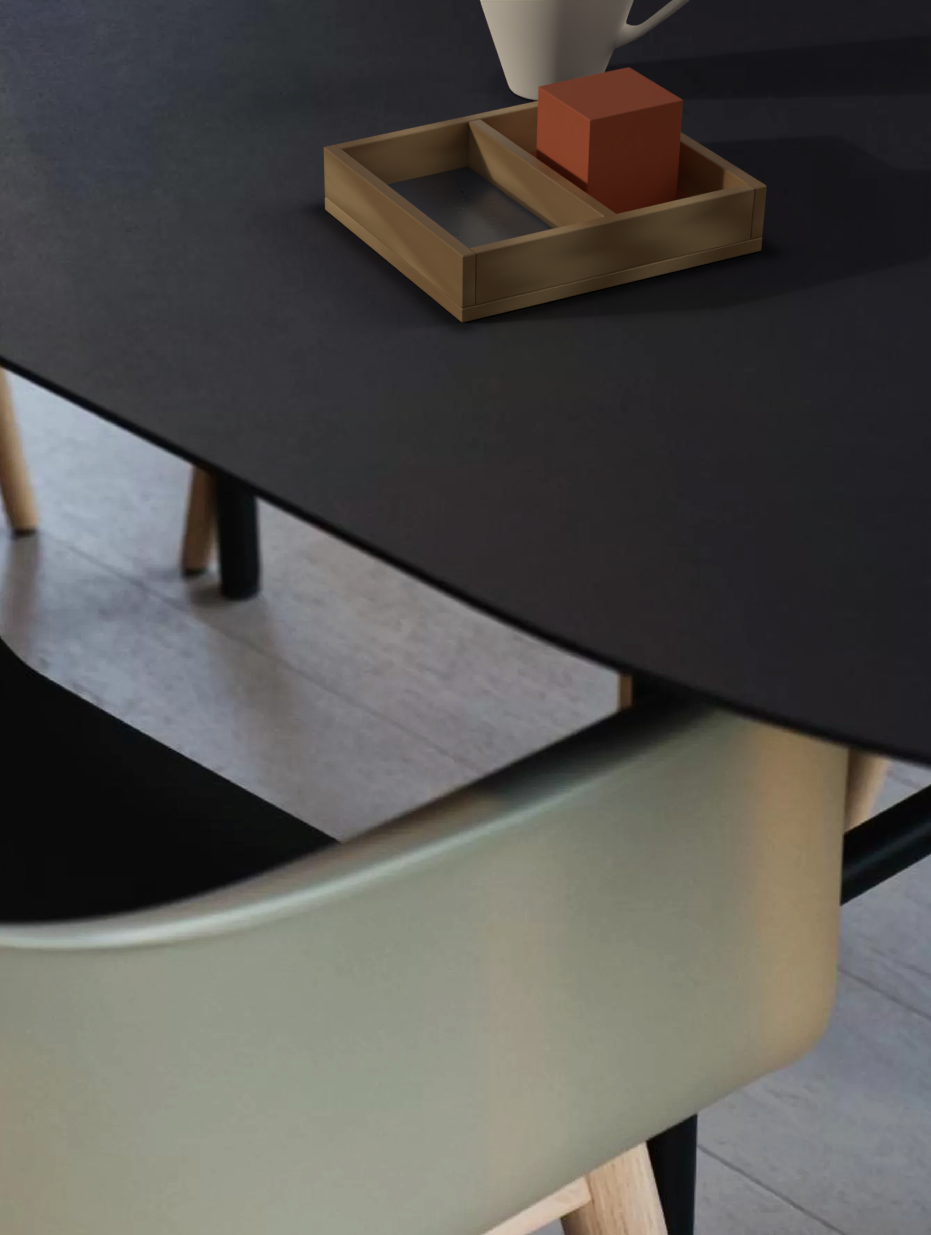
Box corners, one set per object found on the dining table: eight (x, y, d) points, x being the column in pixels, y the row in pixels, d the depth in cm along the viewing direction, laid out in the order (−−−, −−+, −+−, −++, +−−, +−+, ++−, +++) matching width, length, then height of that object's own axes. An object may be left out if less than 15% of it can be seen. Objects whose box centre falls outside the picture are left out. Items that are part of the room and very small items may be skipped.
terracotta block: (535, 188, 108) (538, 86, 105) (623, 168, 109) (629, 66, 106) (585, 224, 105) (590, 120, 102) (676, 203, 106) (683, 99, 103)
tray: (604, 147, 113) (607, 85, 111) (761, 251, 104) (767, 185, 102) (324, 209, 109) (322, 146, 108) (461, 323, 100) (462, 256, 98)
